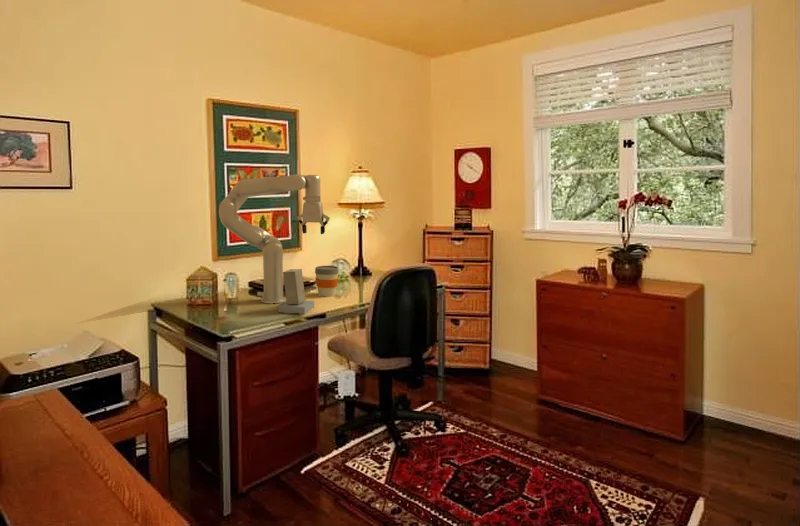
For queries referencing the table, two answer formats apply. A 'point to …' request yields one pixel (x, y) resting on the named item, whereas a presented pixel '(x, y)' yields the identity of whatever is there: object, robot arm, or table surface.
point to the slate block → (296, 307)
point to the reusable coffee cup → (326, 280)
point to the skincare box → (294, 286)
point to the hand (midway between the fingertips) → (313, 233)
